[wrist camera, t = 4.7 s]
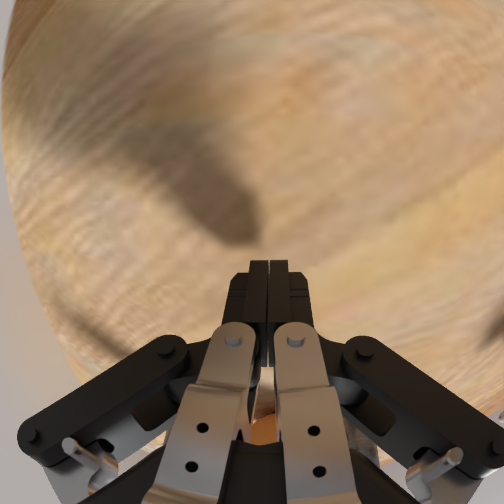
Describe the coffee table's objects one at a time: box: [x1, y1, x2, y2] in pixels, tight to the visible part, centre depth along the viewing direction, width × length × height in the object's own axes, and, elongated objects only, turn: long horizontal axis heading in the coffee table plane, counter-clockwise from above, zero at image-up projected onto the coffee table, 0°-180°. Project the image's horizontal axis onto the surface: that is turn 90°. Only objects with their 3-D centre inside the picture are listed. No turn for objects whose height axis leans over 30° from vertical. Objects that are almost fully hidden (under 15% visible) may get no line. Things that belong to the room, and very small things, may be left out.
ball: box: [251, 413, 277, 445], centre depth 19 cm, size 6×6×6 cm
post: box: [342, 416, 380, 468], centre depth 15 cm, size 3×3×9 cm
